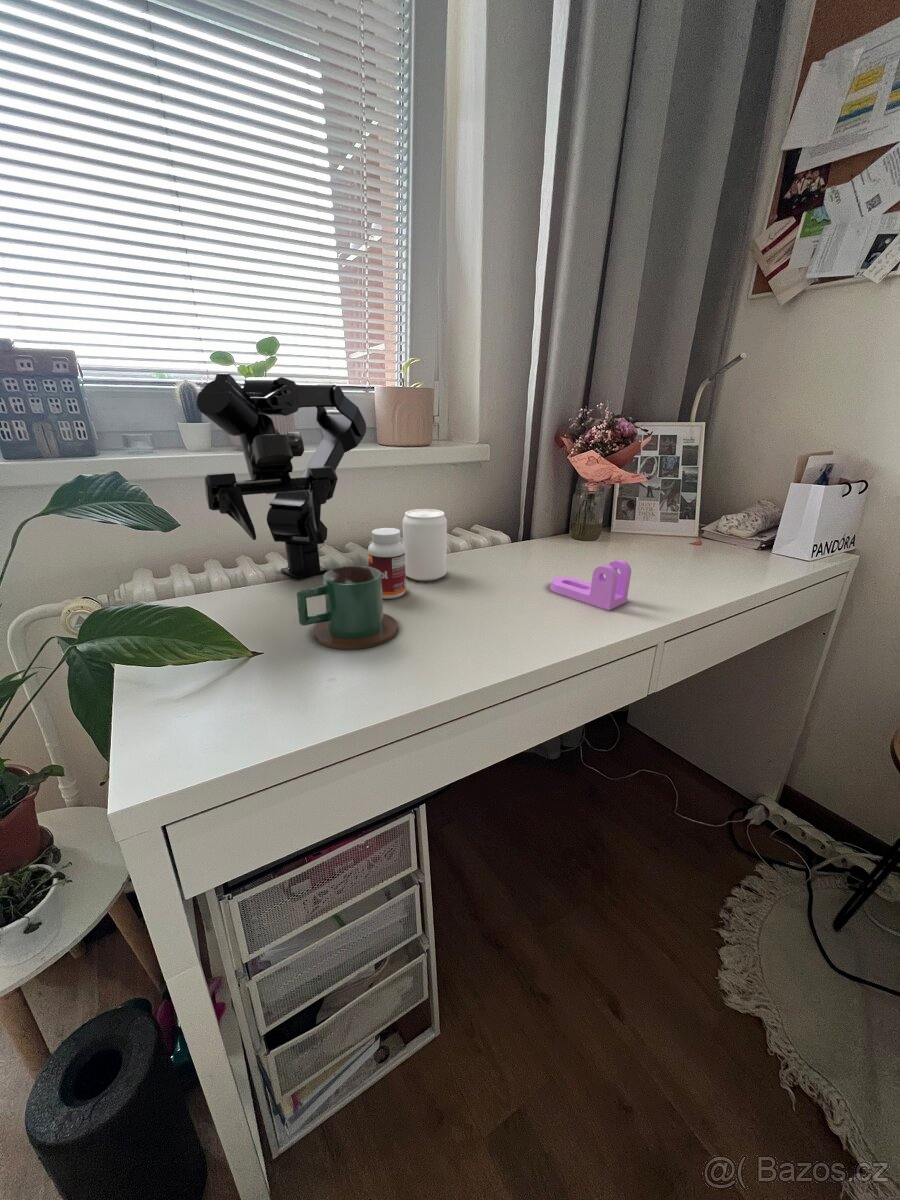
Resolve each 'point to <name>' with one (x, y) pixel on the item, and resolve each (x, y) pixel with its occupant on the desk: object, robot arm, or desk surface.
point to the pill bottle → (388, 561)
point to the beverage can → (425, 544)
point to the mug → (347, 602)
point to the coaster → (361, 643)
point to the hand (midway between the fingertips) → (287, 534)
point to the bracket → (598, 586)
